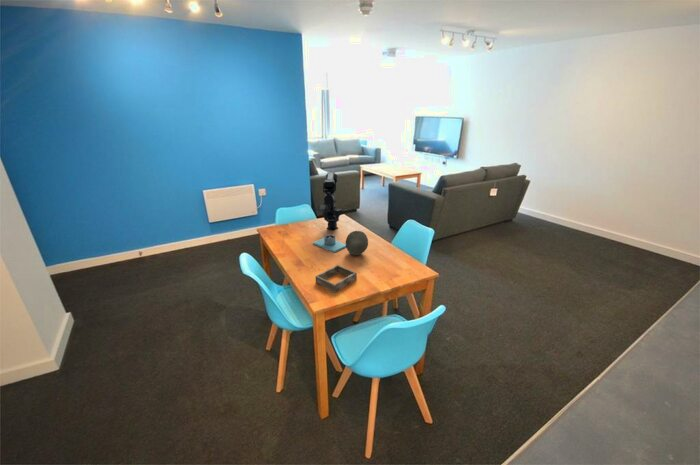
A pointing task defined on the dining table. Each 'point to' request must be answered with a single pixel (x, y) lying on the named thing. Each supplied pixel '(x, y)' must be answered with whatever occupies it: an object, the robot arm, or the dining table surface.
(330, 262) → the dining table surface
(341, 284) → the frame
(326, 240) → the block
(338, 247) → the shaft base
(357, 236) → the dark grey ball
